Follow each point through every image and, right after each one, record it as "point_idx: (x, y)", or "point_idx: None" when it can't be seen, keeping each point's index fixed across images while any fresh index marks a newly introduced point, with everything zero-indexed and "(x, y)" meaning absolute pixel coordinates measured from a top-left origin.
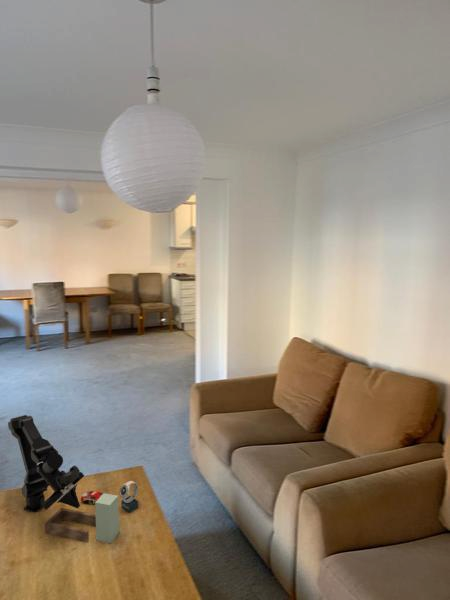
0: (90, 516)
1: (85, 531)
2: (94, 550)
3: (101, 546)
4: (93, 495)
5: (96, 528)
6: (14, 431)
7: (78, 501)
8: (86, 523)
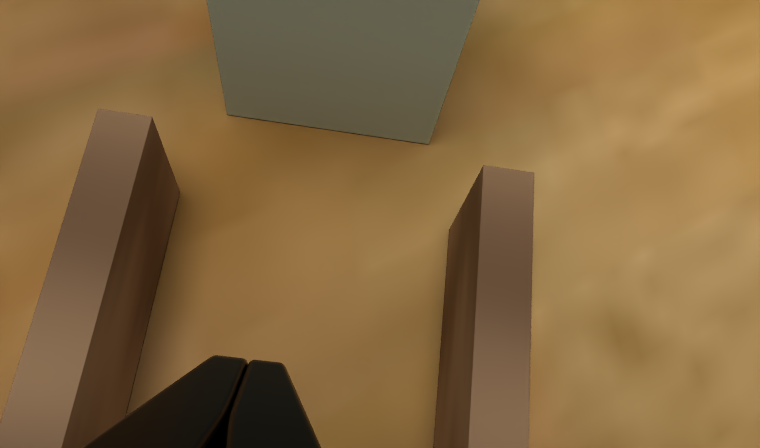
0: (107, 295)
1: (520, 196)
2: (584, 105)
3: (508, 59)
4: None
5: (463, 40)
6: None
7: (140, 410)
8: (122, 410)
